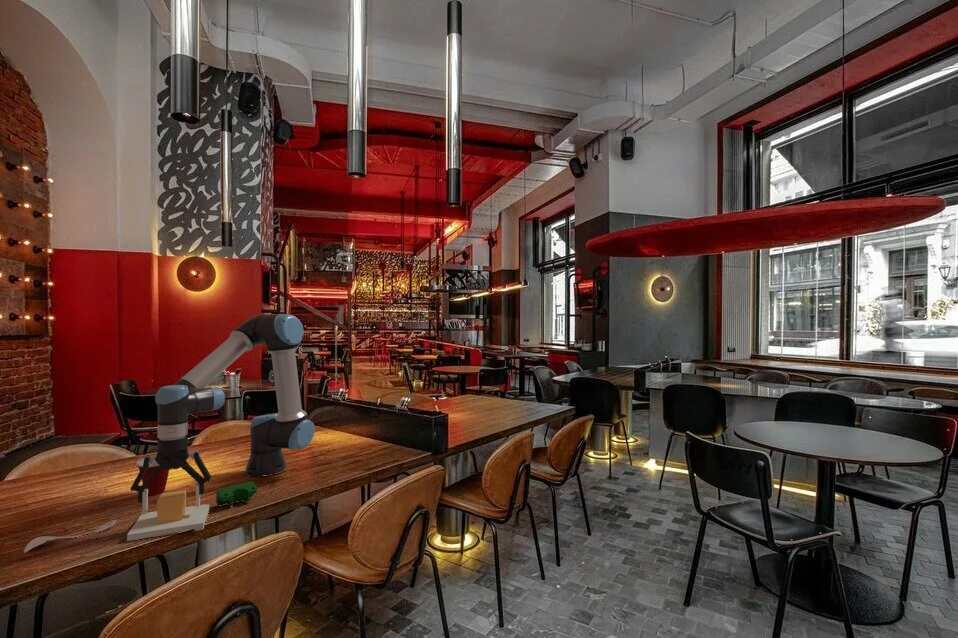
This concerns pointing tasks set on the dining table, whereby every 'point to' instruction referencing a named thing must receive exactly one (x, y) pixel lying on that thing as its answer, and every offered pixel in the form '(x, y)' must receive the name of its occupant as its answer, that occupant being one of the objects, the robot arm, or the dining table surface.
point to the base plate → (169, 523)
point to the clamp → (235, 493)
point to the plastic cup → (159, 480)
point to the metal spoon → (45, 539)
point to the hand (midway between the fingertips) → (172, 509)
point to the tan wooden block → (171, 506)
